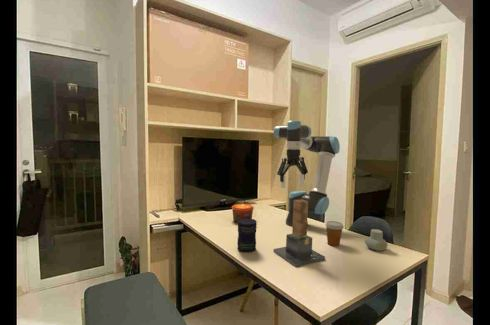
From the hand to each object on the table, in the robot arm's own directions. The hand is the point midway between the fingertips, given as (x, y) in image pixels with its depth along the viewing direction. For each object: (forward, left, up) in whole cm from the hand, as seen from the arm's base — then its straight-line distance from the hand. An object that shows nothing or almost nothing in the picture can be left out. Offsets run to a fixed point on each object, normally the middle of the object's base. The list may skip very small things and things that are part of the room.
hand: (292, 186), depth 146 cm
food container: (+8, -46, -32) cm, 57 cm away
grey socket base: (+8, +17, -32) cm, 37 cm away
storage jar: (+28, -1, -32) cm, 42 cm away
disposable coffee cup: (-20, +13, -32) cm, 40 cm away
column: (+8, +17, -24) cm, 30 cm away
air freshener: (-37, +27, -32) cm, 56 cm away
